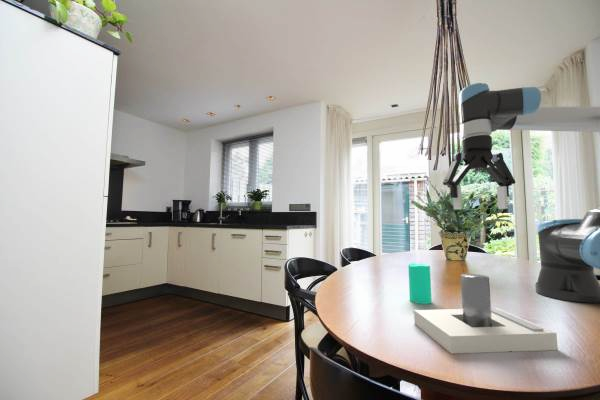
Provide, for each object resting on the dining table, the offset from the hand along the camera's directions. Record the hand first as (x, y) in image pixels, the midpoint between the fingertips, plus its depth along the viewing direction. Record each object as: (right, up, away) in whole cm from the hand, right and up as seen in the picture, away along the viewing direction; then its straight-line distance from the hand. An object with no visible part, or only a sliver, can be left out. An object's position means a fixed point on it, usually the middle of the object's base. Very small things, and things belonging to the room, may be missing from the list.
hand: (480, 209), depth 78 cm
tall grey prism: (-16, -25, -23) cm, 37 cm away
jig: (-16, -25, -23) cm, 37 cm away
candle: (-17, -27, +1) cm, 32 cm away
